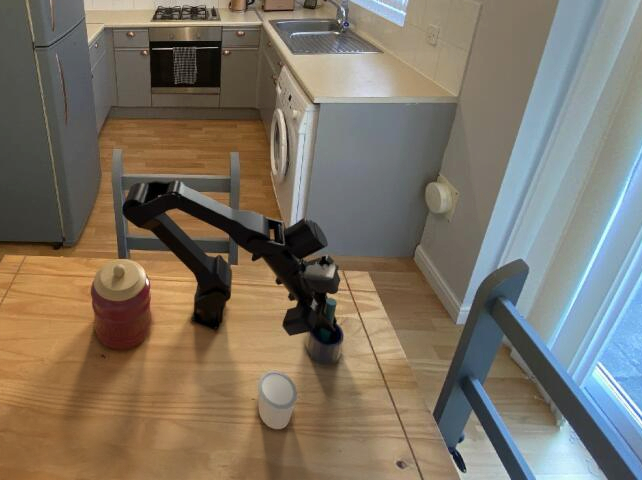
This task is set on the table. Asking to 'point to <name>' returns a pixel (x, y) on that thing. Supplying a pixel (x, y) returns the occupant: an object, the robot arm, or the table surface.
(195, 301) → the robot arm
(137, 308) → the kitchen canister
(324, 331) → the teal green rod
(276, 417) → the white cylindrical container
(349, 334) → the table surface
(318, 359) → the cup
